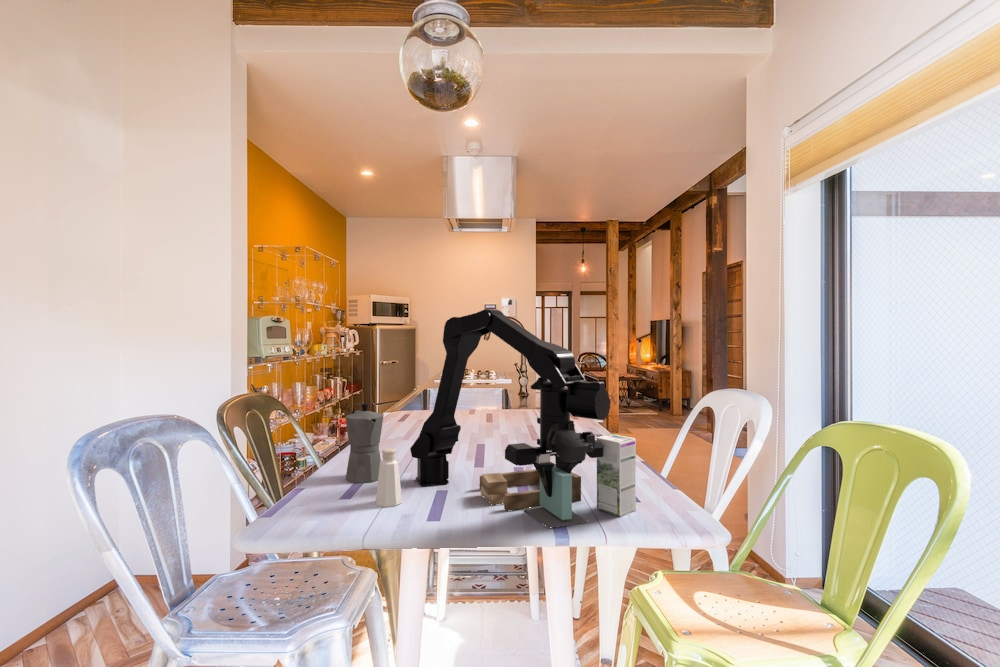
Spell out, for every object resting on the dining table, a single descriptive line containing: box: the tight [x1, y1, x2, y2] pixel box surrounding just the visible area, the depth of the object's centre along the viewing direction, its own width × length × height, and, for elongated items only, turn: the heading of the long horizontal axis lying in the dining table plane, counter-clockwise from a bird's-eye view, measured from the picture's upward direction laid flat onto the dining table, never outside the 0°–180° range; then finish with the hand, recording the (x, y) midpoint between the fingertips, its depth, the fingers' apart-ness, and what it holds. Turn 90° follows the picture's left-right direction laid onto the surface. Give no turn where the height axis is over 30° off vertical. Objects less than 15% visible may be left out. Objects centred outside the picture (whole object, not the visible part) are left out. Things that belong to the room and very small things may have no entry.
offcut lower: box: [480, 486, 511, 506], centre depth 105 cm, size 4×7×2 cm, turn 21°
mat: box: [524, 506, 588, 529], centre depth 95 cm, size 8×10×1 cm
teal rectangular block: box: [539, 466, 573, 520], centre depth 95 cm, size 2×9×8 cm, turn 23°
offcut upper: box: [481, 472, 508, 495], centre depth 105 cm, size 4×6×2 cm, turn 13°
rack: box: [479, 461, 582, 512], centre depth 108 cm, size 17×15×5 cm
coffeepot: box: [345, 402, 384, 484], centre depth 121 cm, size 15×9×18 cm, turn 35°
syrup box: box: [596, 433, 637, 517], centre depth 99 cm, size 6×6×14 cm
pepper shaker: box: [375, 447, 403, 508], centre depth 102 cm, size 5×5×11 cm
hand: (554, 495), depth 95 cm, fingers closed on teal rectangular block, 2 cm apart
